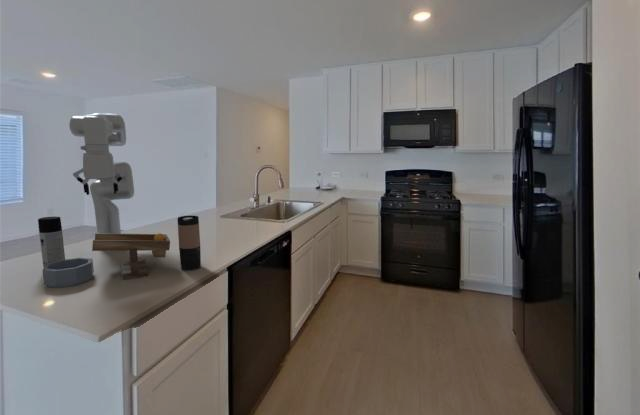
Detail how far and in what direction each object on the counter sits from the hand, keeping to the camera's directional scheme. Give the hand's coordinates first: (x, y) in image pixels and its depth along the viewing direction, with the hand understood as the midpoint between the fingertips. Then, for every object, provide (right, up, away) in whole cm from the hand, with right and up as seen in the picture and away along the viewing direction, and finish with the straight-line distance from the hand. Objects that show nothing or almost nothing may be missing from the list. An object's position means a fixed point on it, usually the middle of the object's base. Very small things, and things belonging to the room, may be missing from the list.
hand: (101, 193), depth 128 cm
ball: (+24, -18, -3) cm, 30 cm away
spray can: (-15, -29, -4) cm, 33 cm away
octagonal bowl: (-1, -31, -15) cm, 34 cm away
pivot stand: (+16, -29, -5) cm, 34 cm away
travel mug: (+36, -29, -2) cm, 46 cm away
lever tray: (+14, -23, -3) cm, 27 cm away
